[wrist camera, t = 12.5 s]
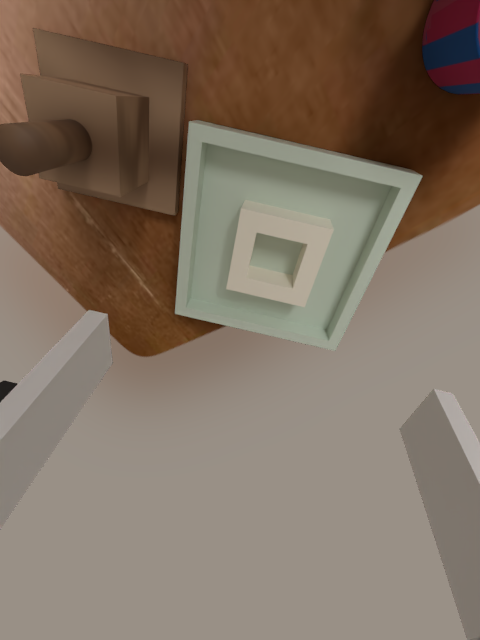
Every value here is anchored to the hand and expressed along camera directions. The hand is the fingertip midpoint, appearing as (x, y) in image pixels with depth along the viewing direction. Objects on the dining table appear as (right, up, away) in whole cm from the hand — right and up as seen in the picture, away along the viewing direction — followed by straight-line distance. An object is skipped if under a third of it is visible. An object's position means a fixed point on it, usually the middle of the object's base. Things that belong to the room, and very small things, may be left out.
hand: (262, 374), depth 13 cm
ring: (+2, +8, +14) cm, 16 cm away
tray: (+2, +9, +14) cm, 17 cm away
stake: (-10, +17, +11) cm, 22 cm away
